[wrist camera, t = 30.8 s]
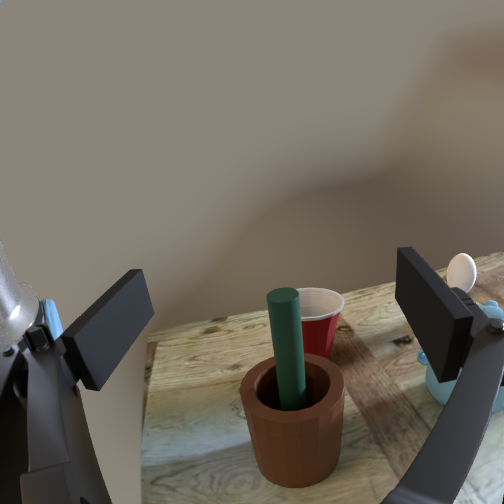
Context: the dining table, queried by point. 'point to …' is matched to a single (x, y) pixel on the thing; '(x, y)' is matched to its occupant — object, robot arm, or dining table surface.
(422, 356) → the decorative pot
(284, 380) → the green peg on base
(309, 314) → the plastic cup
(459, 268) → the light bulb
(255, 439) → the brown mortar
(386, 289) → the dining table surface
